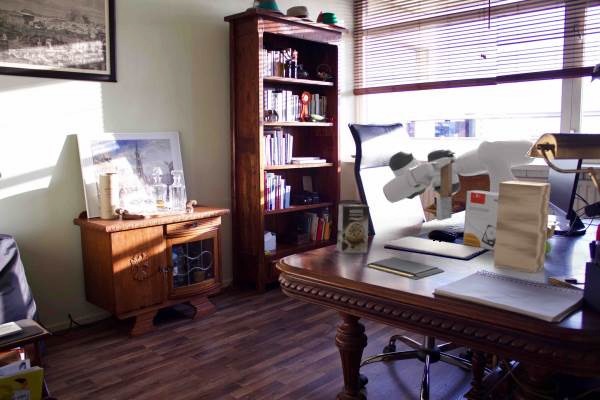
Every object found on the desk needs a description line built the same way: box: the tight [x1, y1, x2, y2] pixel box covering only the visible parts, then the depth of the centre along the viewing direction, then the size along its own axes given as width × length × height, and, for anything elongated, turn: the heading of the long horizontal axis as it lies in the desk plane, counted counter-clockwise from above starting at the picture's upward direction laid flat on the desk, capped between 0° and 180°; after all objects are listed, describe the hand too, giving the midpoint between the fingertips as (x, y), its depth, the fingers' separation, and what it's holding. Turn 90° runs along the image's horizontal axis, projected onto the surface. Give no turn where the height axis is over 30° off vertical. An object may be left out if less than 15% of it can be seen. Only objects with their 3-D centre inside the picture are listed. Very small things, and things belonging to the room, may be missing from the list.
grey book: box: [362, 256, 445, 281], centre depth 157 cm, size 20×2×15 cm
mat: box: [384, 235, 485, 259], centre depth 188 cm, size 18×30×1 cm, turn 50°
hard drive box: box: [462, 189, 499, 252], centre depth 189 cm, size 16×8×20 cm, turn 41°
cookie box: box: [336, 203, 370, 255], centre depth 178 cm, size 9×6×16 cm
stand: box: [493, 181, 552, 274], centre depth 161 cm, size 10×12×26 cm
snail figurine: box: [545, 221, 557, 256], centre depth 178 cm, size 5×6×12 cm
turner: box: [436, 160, 453, 221], centre depth 186 cm, size 9×21×3 cm
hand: (451, 160), depth 184 cm, fingers closed on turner, 3 cm apart
